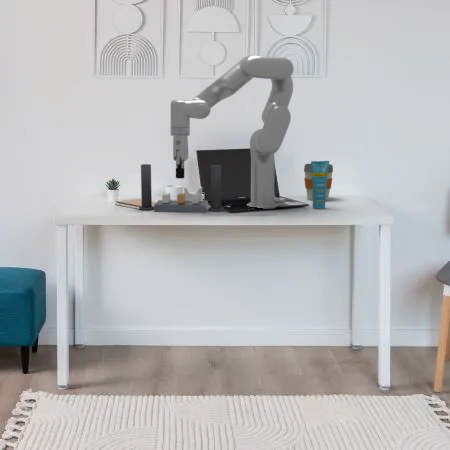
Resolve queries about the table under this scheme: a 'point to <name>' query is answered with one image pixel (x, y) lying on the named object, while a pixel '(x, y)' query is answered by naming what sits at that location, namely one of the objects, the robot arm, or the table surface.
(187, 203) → the breaker panel
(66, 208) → the table surface
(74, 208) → the table surface
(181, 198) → the block
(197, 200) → the paddle
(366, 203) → the table surface
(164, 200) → the white rectangular block
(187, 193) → the bracket
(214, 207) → the post
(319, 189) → the tube
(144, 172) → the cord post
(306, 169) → the reusable coffee cup
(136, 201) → the table surface
